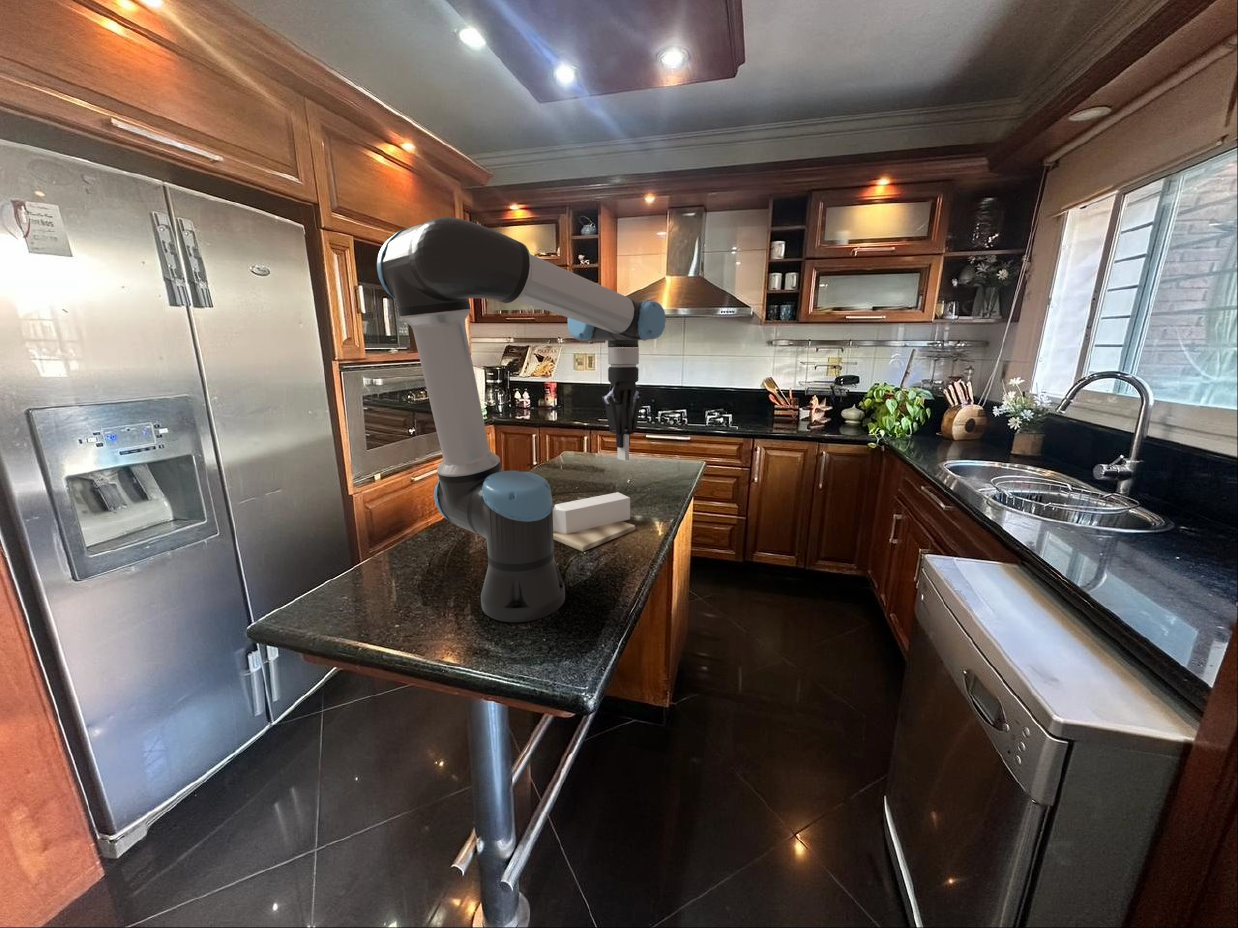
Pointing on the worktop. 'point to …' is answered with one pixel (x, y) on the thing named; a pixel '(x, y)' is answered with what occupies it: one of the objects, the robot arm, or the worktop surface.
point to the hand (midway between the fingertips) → (623, 459)
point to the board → (594, 535)
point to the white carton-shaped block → (590, 512)
